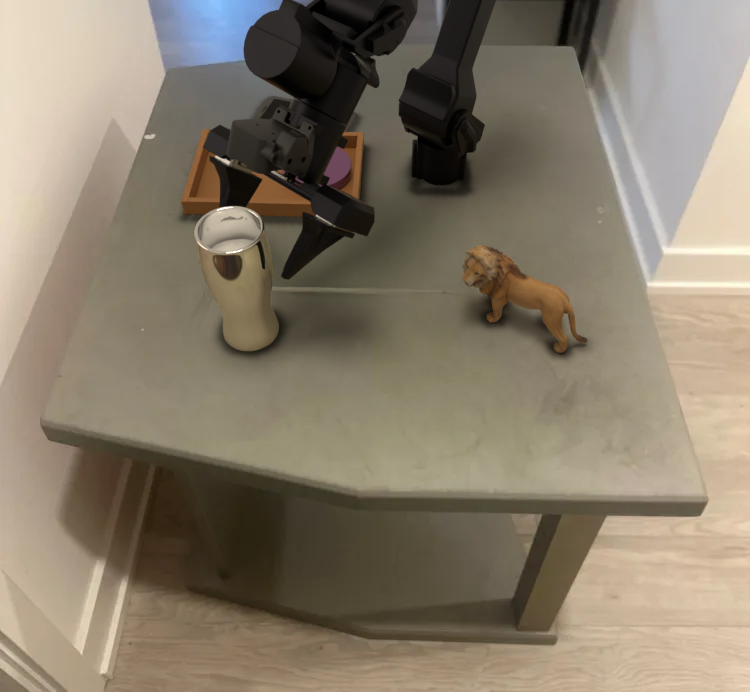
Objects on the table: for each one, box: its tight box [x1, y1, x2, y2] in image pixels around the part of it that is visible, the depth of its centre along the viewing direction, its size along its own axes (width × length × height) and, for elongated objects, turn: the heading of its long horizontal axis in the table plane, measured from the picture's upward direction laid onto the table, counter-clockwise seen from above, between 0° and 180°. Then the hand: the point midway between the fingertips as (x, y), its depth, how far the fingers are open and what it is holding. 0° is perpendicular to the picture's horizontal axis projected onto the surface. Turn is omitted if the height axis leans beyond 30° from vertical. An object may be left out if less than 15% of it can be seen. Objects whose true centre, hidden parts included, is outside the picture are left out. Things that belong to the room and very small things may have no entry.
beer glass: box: [193, 206, 280, 352], centre depth 75 cm, size 7×7×15 cm
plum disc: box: [282, 147, 352, 190], centre depth 96 cm, size 9×9×2 cm
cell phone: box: [251, 95, 358, 132], centre depth 104 cm, size 7×14×1 cm, turn 71°
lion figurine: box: [461, 244, 588, 354], centre depth 78 cm, size 15×5×9 cm, turn 66°
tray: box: [180, 128, 365, 218], centre depth 95 cm, size 22×15×3 cm
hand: (251, 257), depth 74 cm, fingers open, 9 cm apart
